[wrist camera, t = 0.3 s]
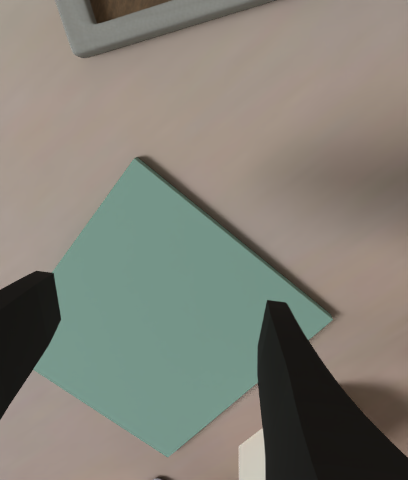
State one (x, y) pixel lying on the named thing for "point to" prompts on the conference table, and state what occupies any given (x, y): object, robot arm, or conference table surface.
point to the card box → (252, 458)
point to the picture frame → (135, 20)
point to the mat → (162, 313)
